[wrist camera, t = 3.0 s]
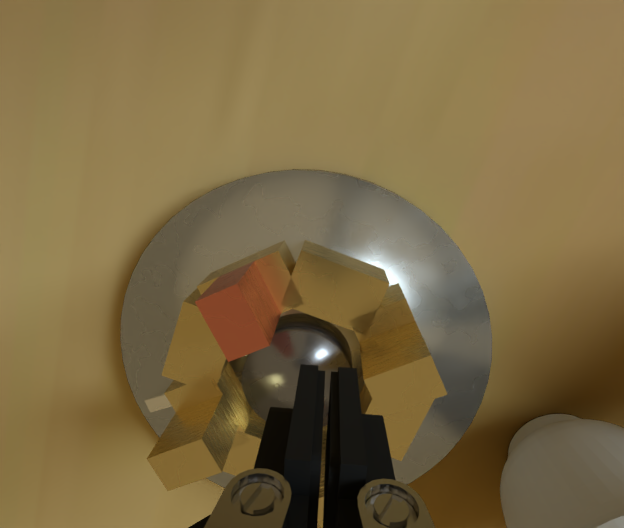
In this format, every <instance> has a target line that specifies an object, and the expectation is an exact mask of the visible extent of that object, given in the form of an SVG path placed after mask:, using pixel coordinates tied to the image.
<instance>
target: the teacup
mask: <svg viewBox="0 0 624 528" xmlns="http://www.w3.org/2000/svg"><path fill="white" fill-rule="evenodd" d="M500 497H501V505H502V510H503V514H504V518H505V522H506V527H507V528H624V428H623V427H621V426H618V425H615V424H612V423H608V422H604V421H599V420H592V419H581V418H578V417H576V416H573V415H567V414H550V415H544V416H541V417H538V418H535V419H533V420H531V421H529V422H528V423H526V424H525V425H523V426H522V427H521V428H520V429H519V430H518V431H517V433H516V434H515V435H514V437H513V438H512V440H511V442H510V445H509V449H508V459H507V461H506V463H505V465H504V468H503V471H502V476H501V482H500Z"/></svg>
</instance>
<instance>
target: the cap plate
mask: <svg viewBox="0 0 624 528" xmlns="http://www.w3.org/2000/svg"><path fill="white" fill-rule="evenodd" d="M284 240H285V242H286V244H287V246H288V248H289V250H290V252H291V254H292V256H293V259H294V261H295V263H296V262H297V260H298V257H299V254H300V252H301V249H302V246H303V244H304V241H305V240H307V241H310V242H313V243H315V244H318V245H321V246H323V247H326V248H329V249H331V250H334V251H337V252H339V253H342V254H345V255H347V256H350V257H353V258H355V259H358V260H361V261H363V262H366V263H368V264H371V265H374V266H376V267H379V268H382V269H384V270H385V273H386V275H387V278H388V280H389V283H390V284H389V286H388V287H390V286H392V285H395V284H397V283H399V285H400V287H401V289H402V291H403V294H404V296H405V298H406V300H407V303H408V305H409V307H410V310H411V312H412V314H413V317H414V319H415V321H416V324H417V326H418V328H419V330H420V332H421V334H422V337H423V339H424V341H425V343H426V345H427V347H428V350H429V352H430V354H431V356H432V359H433V361H434V363H435V366H436V368H437V370H438V373H439V375H440V378H441V380H442V382H443V385H444V387H445V389H446V392H447V394H448V395H445V396H442V397H439V398H436V399H435V400H434V401H433V403H432V405H431V407H430V409H429V411H428V413H427V414H426V416H425V418H424V420H423V422H422V424H421V426H420V428H419V429H418V431H417V433H416V435H415V437H414V439H413V441H412V443H411V444H410V446H409V448H408V450H407V452H406V454H405V456H404V457H403V459H402V461H399V460H396V459H393V458H391V459H392V464H393V469H394V475H395V480H396V481H399V482H402V483H404V484H406V485H407V484H409V483H411V482H413V481H414V480H415V479H417V478H418V477H420V476H421V475H423V474H424V473H426V472H427V471H429V470H430V469H431V468H432V467H434V466H435V465H436V464H437V463H438V462H439V461H440V460H442V459H443V458H444V457H445V456H446V455H447V454H448V453H449V452H450V450H451V449H452V448H453V447H454V446H455V445H456V444H457V443H458V441H459V440H460V439H461V437H462V436H463V434H464V433H465V431H466V430H467V428H468V427H469V426H470V424H471V423H472V421H473V419H474V417H475V414H476V412H477V410H478V408H479V406H480V404H481V402H482V399H483V396H484V393H485V389H486V386H487V383H488V379H489V373H490V367H491V361H492V333H491V325H490V318H489V312H488V309H487V305H486V302H485V298H484V295H483V291H482V289H481V287H480V285H479V282H478V280H477V278H476V276H475V274H474V272H473V269H472V268H471V266H470V264H469V263H468V261H467V260H466V258H465V257H464V255H463V254H462V252H461V251H460V249H459V248H458V246H457V245H456V244H455V243H454V242H453V241H452V239H451V238H450V237H449V236H448V235H447V234H446V233H445V231H444V230H443V229H442V228H441V227H440V226H439V225H437V224H436V223H435V222H434V221H433V220H432V219H431V218H429V217H428V216H427V215H426V214H425V213H424V212H422V211H421V210H420V209H418V208H417V207H415V206H414V205H412V204H411V203H409V202H408V201H406V200H405V199H403V198H401V197H400V196H398V195H397V194H395V193H394V192H391V191H389V190H387V189H385V188H383V187H381V186H378V185H376V184H374V183H372V182H369V181H366V180H363V179H360V178H356V177H353V176H350V175H347V174H341V173H335V172H329V171H323V170H303V169H292V170H283V171H273V172H267V173H263V174H259V175H255V176H251V177H247V178H243V179H239V180H236V181H234V182H231V183H229V184H226V185H224V186H221V187H219V188H216V189H214V190H212V191H210V192H209V193H207V194H205V195H203V196H202V197H200V198H198V199H196V200H195V201H193V202H191V203H190V204H189V205H188V206H186V207H185V208H184V209H182V210H181V211H180V212H179V213H177V214H176V215H175V216H174V217H172V218H171V219H170V220H169V221H168V223H167V224H166V225H165V226H164V227H163V228H162V229H161V230H160V231H159V232H158V233H157V234H156V235H155V237H154V238H153V239H152V241H151V242H150V244H149V245H148V247H147V248H146V249H145V251H144V252H143V254H142V255H141V257H140V259H139V261H138V263H137V265H136V267H135V269H134V271H133V273H132V276H131V279H130V282H129V285H128V288H127V291H126V294H125V298H124V304H123V309H122V315H121V337H120V340H121V349H122V358H123V363H124V367H125V371H126V375H127V379H128V382H129V385H130V387H131V390H132V392H133V395H134V397H135V400H136V402H137V404H138V406H139V408H140V409H141V411H142V413H143V415H144V417H145V418H146V420H147V421H148V423H149V424H150V426H151V427H152V428H153V430H154V431H155V432H156V434H157V435H158V437H159V438H160V437H161V435H162V434H163V432H164V430H165V429H166V427H167V426H168V424H169V422H170V421H171V419H172V418H173V416H174V414H175V413H176V412H175V410H174V409H173V407H172V405H171V404H170V402H169V400H168V399H167V397H166V396H165V394H164V393H165V392H166V390H167V389H168V387H169V386H170V385H171V383H172V382H173V379H170V378H167V377H164V376H161V375H162V371H163V368H164V365H165V361H166V358H167V355H168V351H169V348H170V344H171V341H172V338H173V334H174V331H175V328H176V324H177V321H178V317H179V314H180V311H181V307H182V304H183V301H184V300H185V299H186V298H187V297H188V296H189V295H190V294H191V293H192V292H193V291H195V290H196V289H197V286H198V285H199V284H200V283H201V282H202V281H203V280H204V279H205V278H206V277H207V276H208V275H209V274H210V273H212V272H214V271H216V270H218V269H221V268H223V267H225V266H227V265H230V264H232V263H234V262H236V261H239V260H241V259H243V258H245V257H248V256H250V255H252V254H254V253H257V252H259V251H261V250H263V249H266V248H268V247H270V246H272V245H275V244H277V243H279V242H282V241H284ZM229 363H230V365H231V367H232V369H233V371H234V372H235V374H236V376H237V378H238V379H239V381H240V383H241V385H242V388H243V392H244V395H245V398H246V400H247V402H248V403H249V405H250V406H251V408H252V409H253V410H254V411H255V413H256V414H257V415H259V416H260V417H261V418H262V419H263V420H265V421H266V420H267V416H268V412H269V409H270V407H281V408H293V407H294V401H295V395H296V389H297V383H298V377H299V371H300V365H301V364H305V365H318V370H320V371H325V390H324V413H323V427H324V426H326V425H327V422H328V407H329V393H330V379H331V371H334V372H338V367H346V368H357V376H358V385H359V395H360V393H361V391H362V388H363V386H364V384H365V382H364V379H363V370H362V362H361V353H360V344H359V341H358V338H357V336H356V334H355V332H354V331H352V330H349V329H347V328H344V327H341V326H338V325H336V324H333V323H330V322H328V321H325V320H322V319H319V318H317V317H314V316H311V315H309V314H306V313H303V312H300V311H298V310H295V309H291V310H288V311H286V312H284V313H281V315H280V318H279V321H278V324H277V327H276V329H275V332H274V335H273V338H272V341H271V344H270V346H268V347H265V348H263V349H260V350H258V351H255V352H253V353H250V354H248V355H245V356H243V357H240V358H238V359H235V360H232V361H230V362H229ZM234 477H235V475H232V474H229V473H226V472H223V471H222V473H219V474H216V475H213V476H210V477H207V479H209V480H211V481H212V482H214V483H216V484H218V485H220V486H222V487H224V488H225V487H226V486H227V484H228V483H229V482H230V481H231V479H232V478H234Z"/></svg>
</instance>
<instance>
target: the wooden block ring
mask: <svg viewBox="0 0 624 528" xmlns="http://www.w3.org/2000/svg"><path fill="white" fill-rule="evenodd" d="M389 284H390V283H389V280H388V278H387V275H386V273H385V270H384V269H382V268H379V267H376V266H374V265H371V264H368V263H366V262H363V261H361V260H358V259H355V258H353V257H350V256H347V255H345V254H342V253H339V252H337V251H334V250H331V249H329V248H326V247H323V246H321V245H318V244H315V243H313V242H310V241H307V240H305V241H304V244H303V246H302V249H301V252H300V254H299V257H298V260H297V262H296V263H295V261H294V259H293V256H292V254H291V252H290V250H289V248H288V246H287V244H286V242H285V240H284V241H282V242H279V243H277V244H275V245H272V246H270V247H268V248H266V249H263V250H261V251H259V252H257V253H254V254H252V255H250V256H248V257H245V258H243V259H241V260H239V261H236V262H234V263H232V264H230V265H227V266H225V267H223V268H221V269H218V270H216V271H214V272H212V273H210V274H209V275H208V276H207V277H206V278H205V279H204V280H203V281H202V282H201V283H200V284H199V285H198V286H197V289H196V290H195V291H193V292H192V293H191V294H190V295H189V296H188V297H187V298H186V299H185V300H184V301H183V304H182V307H181V311H180V314H179V317H178V321H177V324H176V328H175V331H174V334H173V338H172V341H171V344H170V348H169V351H168V355H167V358H166V361H165V365H164V368H163V371H162V375H161V376H164V377H167V378H170V379H173V382H172V383H171V385H170V386H169V387H168V389H167V390H166V392H165V393H164V394H165V396H166V397H167V399H168V400H169V402H170V404H171V405H172V407H173V409H174V410H175V412H176V413H175V414H174V416H173V418H172V419H171V421H170V422H169V424H168V426H167V427H166V429H165V430H164V432H163V434H162V435H161V437H160V438H159V440H158V442H157V443H156V445H155V447H154V448H153V450H152V451H151V453H150V455H149V456H148V458H147V460H148V462H149V463H150V465H151V466H152V468H153V469H154V471H155V472H156V474H157V475H158V477H159V478H160V480H161V481H162V483H163V484H164V486H165V488H166V489H167V491H169V490H172V489H175V488H178V487H181V486H184V485H187V484H190V483H193V482H196V481H198V480H201V479H204V478H207V477H210V476H213V475H216V474H219V473H222V471H223V472H226V473H229V474H232V475H235V476H237V475H238V474H239V473H242V472H244V471H247V470H250V469H254V465H255V461H256V458H257V454H258V450H259V446H260V442H261V439H262V435H263V431H264V427H265V424H266V421H265V420H263V419H262V418H261V417H260V416H259V415H257V414H256V413H255V411H254V410H253V409H252V408H251V406H250V405H249V403H248V402H247V400H246V398H245V395H244V392H243V388H242V385H241V383H240V381H239V379H238V378H237V376H236V374H235V372H234V371H233V369H232V367H231V365H230V363H229V362H230V361H232V360H235V359H238V358H240V357H243V356H245V355H248V354H250V353H253V352H255V351H258V350H260V349H263V348H265V347H268V346H270V344H271V341H272V338H273V335H274V332H275V329H276V327H277V324H278V321H279V318H280V315H281V313H284V312H286V311H288V310H291V309H295V310H298V311H300V312H303V313H306V314H309V315H311V316H314V317H317V318H319V319H322V320H325V321H328V322H330V323H333V324H336V325H338V326H341V327H344V328H347V329H349V330H352V331H354V332H355V334H356V336H357V338H358V341H359V344H360V353H361V362H362V370H363V379H364V382H365V384H364V386H363V388H362V391H361V393H360V404H361V413H362V414H372V415H382V416H383V418H384V423H385V428H386V433H387V438H388V444H389V449H390V454H391V458H393V459H396V460H399V461H402V459H403V457H404V456H405V454H406V452H407V450H408V448H409V446H410V444H411V443H412V441H413V439H414V437H415V435H416V433H417V431H418V429H419V428H420V426H421V424H422V422H423V420H424V418H425V416H426V414H427V413H428V411H429V409H430V407H431V405H432V403H433V401H434V400H435V399H436V398H439V397H442V396H445V395H448V394H447V392H446V389H445V387H444V385H443V382H442V380H441V378H440V375H439V373H438V370H437V368H436V366H435V363H434V361H433V359H432V356H431V354H430V352H429V350H428V347H427V345H426V343H425V341H424V339H423V337H422V334H421V332H420V330H419V328H418V326H417V324H416V321H415V319H414V317H413V314H412V312H411V310H410V307H409V305H408V303H407V300H406V298H405V296H404V294H403V291H402V289H401V287H400V285H399V283H397V284H395V285H392V286H390V287H388V286H389ZM326 436H327V425H326V426H324V427H323V435H322V457H321V475H320V490H319V505H318V520H317V522H318V523H319V525H320V527H321V528H323V508H324V476H325V451H326Z"/></svg>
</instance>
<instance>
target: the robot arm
mask: <svg viewBox="0 0 624 528" xmlns="http://www.w3.org/2000/svg"><path fill="white" fill-rule="evenodd" d="M324 390H325V371H320V370H318V365H305V364H301V365H300V371H299V377H298V383H297V389H296V395H295V401H294V407H293V408H281V407H270V409H269V412H268V416H267V420H266V424H265V427H264V431H263V435H262V439H261V442H260V446H259V450H258V454H257V458H256V461H255V465H254V469H250V470H247V471H244V472H242V473H239V474H238V475H237V476H235V477H234V478H232V479H231V481H230V482H229V483H228V484H227V486H226V487H225V489H224V491H223V493H222V495H221V497H220V499H219V500H218V502H217V504H216V506H215V508H214V510H213V512H212V514H211V515H209V516H207V517H206V518H204V519H202V520H200V521H199V522H197V523H195V524H194V525H192V526H190V527H189V528H317V520H318V505H319V490H320V475H321V457H322V435H323V413H324ZM323 528H435V526H434V523H433V521H432V519H431V517H430V514H429V512H428V510H427V508H426V505H425V503H424V502H423V500H422V499H421V497H420V495H419V494H418V493H417V492H415V491H414V490H413V489H412V488H411V487H409V486H407V485H406V484H404V483H402V482H399V481H396V480H395V475H394V469H393V464H392V459H391V454H390V449H389V444H388V438H387V433H386V428H385V423H384V418H383V416H382V415H372V414H362V413H361V404H360V395H359V385H358V376H357V368H346V367H338V372H334V371H331V379H330V393H329V407H328V422H327V436H326V451H325V476H324V508H323Z"/></svg>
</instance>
